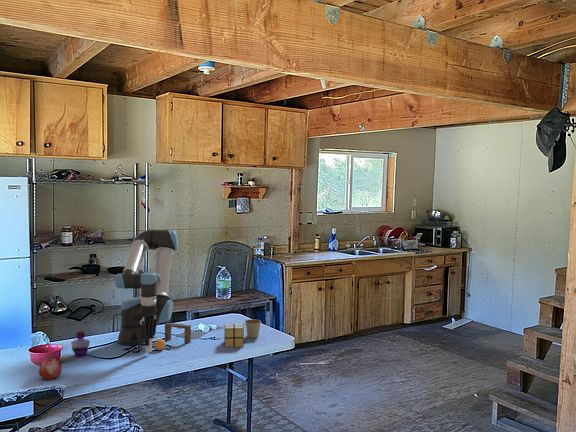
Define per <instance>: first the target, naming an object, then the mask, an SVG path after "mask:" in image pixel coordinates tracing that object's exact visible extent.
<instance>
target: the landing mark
mask: <svg viewBox="0 0 576 432" xmlns="http://www.w3.org/2000/svg"><path fill="white" fill-rule="evenodd" d="M196 331H197V330H191V340H192V339H193V340H197V339H198V338H199V339H200V338H201V337H203V336H204V335H207V334H208V332H206V331H205V332H204V331H198V332H196ZM176 337H178V338H183V339H184V338H185V331H183V332H181V333H179V334H177V335H176Z"/></svg>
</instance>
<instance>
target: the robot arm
mask: <svg viewBox="0 0 576 432" xmlns="http://www.w3.org/2000/svg"><path fill="white" fill-rule="evenodd" d="M177 233H178V232H177V231H176V230H175V229H147V230H144V231H142V232H140V233H139V234H138V235H137V236H135V237H134V238H133V240H132V242H131V245H130V248H131V249H130V252H129V254H128V258H127V260H126V263H125V266H124V267H123V270H122V273H117V274H116V275H115V278H114V286H115V288H116V289H123V290H127V289H132V290H133V289H140V296H138V297H137V296H136V297H131V298H126V299H124V300H123V301H122V302H121V304H120V331H119V334H118V337H117V344H119V345H121V346H137V345H142V344H144V346H145V352H147V353H151V352H153V339H155V336H156V332H157V325H158V323H160V324H161V323H169V321H170V320H171V319H172V318H171V317H172V314H173V309H174V301H173V300H172V298H171V297H170V295H169V291H170V290H169V288H170V279H171V277H170V276H171V268H172V267H171V266H172V256H174V255H175V254H176V253H175V251H178V250H179V239H178V234H177ZM148 251H153V253H154V254H155V255H156V256H155V265H154V272H143V273H139V272H140V269H141V267H142V263H143V261H144V258H145V255H146V253H147V252H148Z"/></svg>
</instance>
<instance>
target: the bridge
mask: <svg viewBox="0 0 576 432" xmlns="http://www.w3.org/2000/svg"><path fill="white" fill-rule="evenodd" d="M172 328H177V329H184V332H185V338H184V337H183V339H184V341H183V342H184V344H186V345H189V344H190V343H191V342H192V339H191V331H192V325H190V324H182V323H174V322H165V323H164V341H165V342H166V341H167V342H169V341H170V340H172Z"/></svg>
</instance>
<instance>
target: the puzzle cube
mask: <svg viewBox="0 0 576 432" xmlns="http://www.w3.org/2000/svg"><path fill="white" fill-rule="evenodd" d="M244 328H245V327H244V323H225V324H224V335H223V336H224V339H223V340H224V343H223V344H224V347H225V348H244V345H245V344H244V339H245V337H244V336H245V335H244V334H245V333H244V331H245V330H244Z"/></svg>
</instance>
